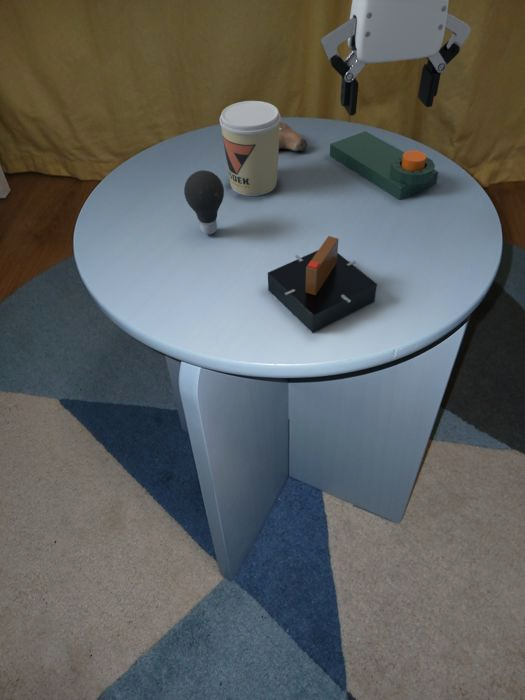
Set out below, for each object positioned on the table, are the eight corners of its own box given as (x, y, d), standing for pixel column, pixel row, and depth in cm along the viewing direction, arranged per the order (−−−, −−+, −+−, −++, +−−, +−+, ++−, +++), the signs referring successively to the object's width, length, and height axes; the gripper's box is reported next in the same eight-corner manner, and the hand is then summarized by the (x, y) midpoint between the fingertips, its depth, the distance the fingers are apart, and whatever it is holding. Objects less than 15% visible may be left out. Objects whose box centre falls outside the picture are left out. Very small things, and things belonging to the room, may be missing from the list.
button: (429, 167, 87) (431, 156, 86) (412, 174, 86) (414, 163, 85) (413, 158, 89) (415, 147, 88) (396, 165, 88) (398, 154, 87)
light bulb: (185, 241, 82) (174, 180, 75) (199, 220, 86) (190, 160, 79) (220, 247, 81) (213, 185, 74) (233, 225, 85) (227, 165, 77)
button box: (441, 187, 90) (446, 164, 87) (404, 203, 87) (408, 180, 84) (364, 142, 101) (366, 121, 98) (329, 155, 98) (330, 133, 95)
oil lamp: (268, 165, 98) (309, 157, 100) (268, 145, 95) (311, 137, 97) (251, 138, 103) (291, 130, 105) (251, 118, 100) (292, 110, 102)
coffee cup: (214, 183, 93) (207, 112, 85) (258, 164, 97) (255, 94, 88) (248, 205, 88) (244, 132, 80) (293, 184, 92) (293, 113, 83)
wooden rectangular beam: (326, 260, 73) (328, 234, 70) (336, 263, 73) (338, 236, 70) (305, 292, 69) (305, 265, 66) (315, 295, 68) (316, 268, 65)
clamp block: (381, 302, 72) (384, 283, 69) (311, 338, 68) (312, 319, 65) (328, 259, 78) (329, 240, 76) (261, 289, 74) (260, 270, 72)
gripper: (474, -77, 59) (442, 87, 72) (317, -64, 58) (312, 101, 70) (506, -61, 54) (466, 112, 67) (335, -47, 53) (326, 128, 65)
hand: (387, 106), depth 69 cm, fingers open, 9 cm apart
